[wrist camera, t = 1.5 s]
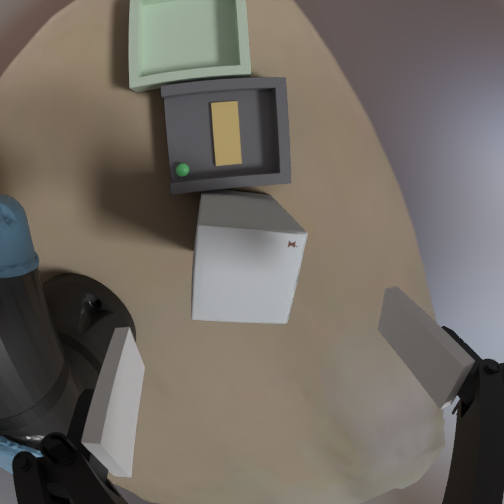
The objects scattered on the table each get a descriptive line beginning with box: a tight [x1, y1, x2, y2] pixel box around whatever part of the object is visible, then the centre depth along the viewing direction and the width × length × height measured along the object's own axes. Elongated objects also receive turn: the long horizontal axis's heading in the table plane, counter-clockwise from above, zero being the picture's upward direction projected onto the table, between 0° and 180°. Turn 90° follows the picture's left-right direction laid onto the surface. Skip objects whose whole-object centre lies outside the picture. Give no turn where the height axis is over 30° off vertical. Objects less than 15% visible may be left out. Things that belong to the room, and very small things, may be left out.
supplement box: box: [191, 189, 308, 324], centre depth 25 cm, size 7×7×13 cm
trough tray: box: [129, 0, 251, 93], centre depth 21 cm, size 11×11×3 cm
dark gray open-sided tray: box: [161, 77, 291, 195], centre depth 25 cm, size 11×10×4 cm
